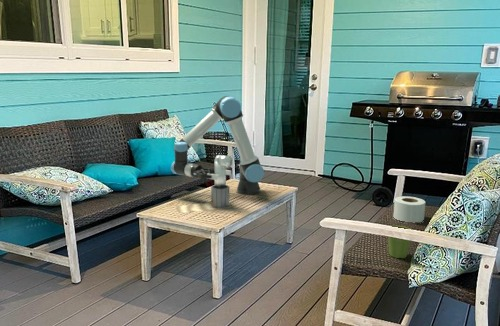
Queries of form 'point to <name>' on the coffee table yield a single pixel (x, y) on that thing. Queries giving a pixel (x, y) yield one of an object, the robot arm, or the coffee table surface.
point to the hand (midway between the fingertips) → (224, 175)
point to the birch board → (195, 207)
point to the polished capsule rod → (221, 170)
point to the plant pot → (398, 246)
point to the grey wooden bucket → (220, 197)
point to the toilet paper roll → (409, 209)
